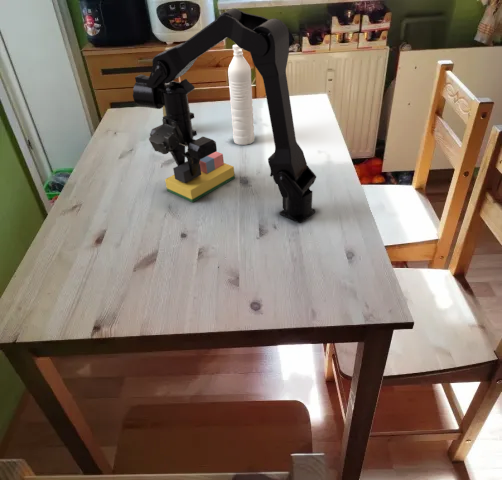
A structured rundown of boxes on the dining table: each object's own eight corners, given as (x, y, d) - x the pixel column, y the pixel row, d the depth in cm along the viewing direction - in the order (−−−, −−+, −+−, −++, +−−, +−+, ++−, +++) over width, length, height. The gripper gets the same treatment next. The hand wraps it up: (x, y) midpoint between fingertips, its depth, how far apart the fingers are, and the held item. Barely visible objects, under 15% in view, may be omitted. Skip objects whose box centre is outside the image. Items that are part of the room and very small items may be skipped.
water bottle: (255, 144, 141) (250, 51, 124) (234, 146, 141) (226, 54, 123) (252, 132, 148) (247, 43, 130) (232, 134, 147) (224, 45, 129)
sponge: (209, 168, 132) (208, 156, 130) (234, 178, 127) (233, 166, 125) (167, 191, 124) (164, 179, 122) (192, 202, 119) (190, 190, 117)
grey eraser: (191, 170, 123) (189, 159, 121) (201, 174, 121) (200, 163, 119) (175, 179, 121) (173, 168, 118) (185, 183, 119) (183, 172, 116)
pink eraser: (213, 160, 128) (212, 149, 126) (224, 164, 126) (223, 153, 124) (196, 169, 125) (195, 158, 123) (207, 173, 123) (205, 162, 120)
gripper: (126, 113, 110) (141, 175, 121) (178, 131, 101) (189, 196, 112) (162, 99, 115) (173, 159, 126) (214, 114, 106) (221, 178, 117)
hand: (187, 173), depth 120 cm, fingers closed on grey eraser, 4 cm apart
